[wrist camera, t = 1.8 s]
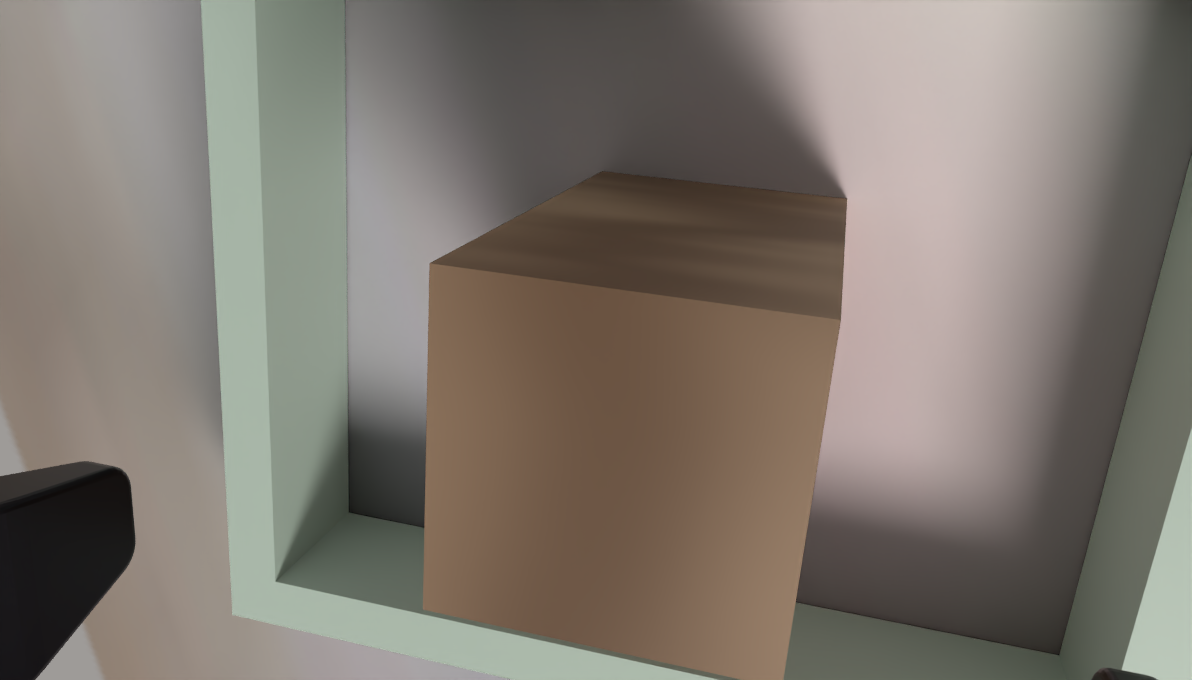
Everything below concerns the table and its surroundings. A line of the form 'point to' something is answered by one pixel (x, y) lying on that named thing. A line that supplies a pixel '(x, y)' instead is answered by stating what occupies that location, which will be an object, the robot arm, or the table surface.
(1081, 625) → the green square frame
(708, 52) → the table surface
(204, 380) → the table surface
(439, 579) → the walnut block
